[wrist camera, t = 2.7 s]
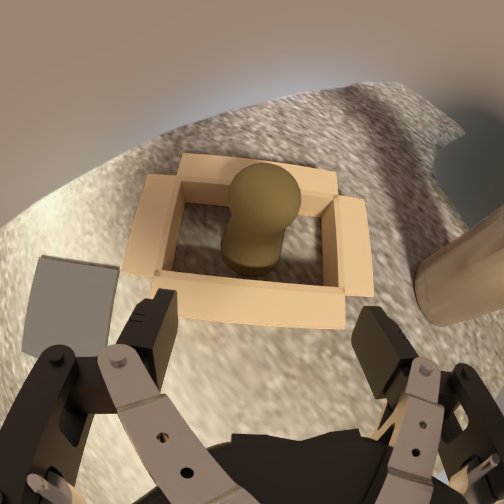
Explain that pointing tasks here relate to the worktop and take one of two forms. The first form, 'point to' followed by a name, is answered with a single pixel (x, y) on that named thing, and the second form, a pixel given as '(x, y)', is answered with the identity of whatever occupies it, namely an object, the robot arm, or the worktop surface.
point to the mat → (69, 308)
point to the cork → (259, 217)
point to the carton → (242, 290)
